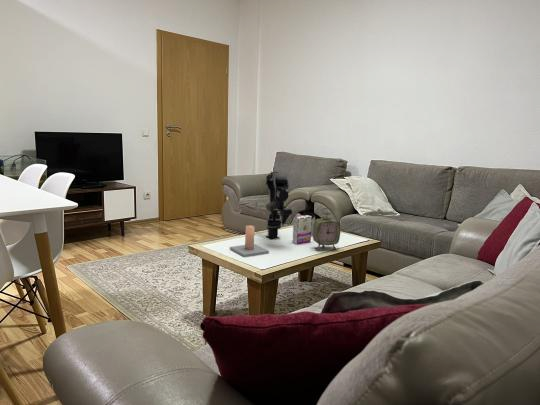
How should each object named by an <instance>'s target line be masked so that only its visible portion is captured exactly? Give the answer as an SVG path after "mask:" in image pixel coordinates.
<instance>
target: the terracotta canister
mask: <svg viewBox="0 0 540 405" xmlns="http://www.w3.org/2000/svg"><path fill="white" fill-rule="evenodd" d="M255 228H256V227H255V225H251V224H249V225H245V234H244V235H245V236H244V238H245V240H244V245H245V249H246V250H253V249H254V244H255Z"/></svg>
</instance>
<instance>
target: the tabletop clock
mask: <svg viewBox="0 0 540 405" xmlns="http://www.w3.org/2000/svg"><path fill="white" fill-rule="evenodd" d="M326 209H329V210H331V212H328V211H326V212H323V211H324V210H326ZM333 212H334V209H333V208H332V207H323V208H322V210H321V213H322V214H323V216H322V218H317V219H315V221H314V224H313V236H312V241H313V242H315V243H316V244H318V247H317V248H316V250H317V251H320V247H321V248H322V249H324V248H326V247H325V246H332V247H333V250H334V251H335V250H337V246H335V245H337V244H339V241H340V238H341V224H340V222H339V221H337V220H335V219H333V218H332V217H331V216H330V215H332V214H333Z"/></svg>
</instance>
